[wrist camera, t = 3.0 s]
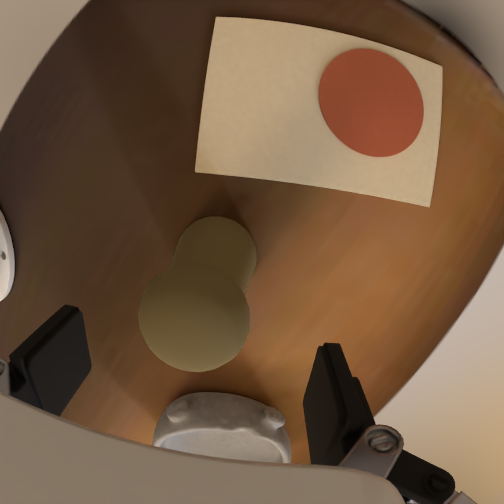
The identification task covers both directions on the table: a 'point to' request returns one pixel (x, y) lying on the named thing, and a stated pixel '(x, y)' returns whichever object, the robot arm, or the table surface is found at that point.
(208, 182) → the table surface
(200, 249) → the cork
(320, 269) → the table surface
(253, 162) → the placemat
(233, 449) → the dish
